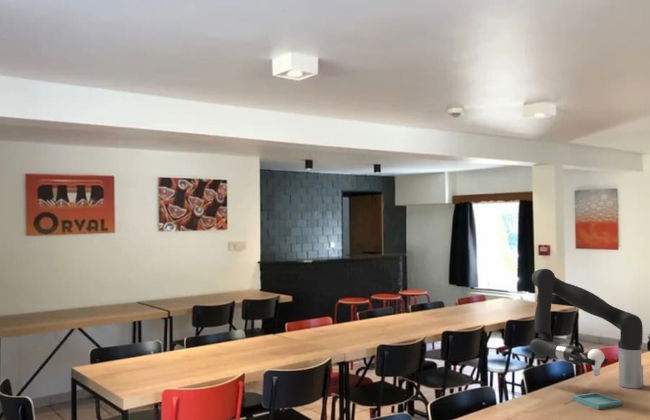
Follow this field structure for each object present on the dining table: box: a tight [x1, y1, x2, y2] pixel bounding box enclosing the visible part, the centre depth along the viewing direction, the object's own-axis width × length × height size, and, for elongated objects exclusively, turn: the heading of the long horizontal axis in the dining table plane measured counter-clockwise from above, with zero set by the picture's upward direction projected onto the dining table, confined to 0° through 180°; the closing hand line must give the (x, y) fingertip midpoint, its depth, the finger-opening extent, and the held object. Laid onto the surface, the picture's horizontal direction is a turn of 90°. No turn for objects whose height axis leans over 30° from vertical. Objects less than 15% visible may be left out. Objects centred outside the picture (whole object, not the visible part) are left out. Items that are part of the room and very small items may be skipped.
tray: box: [572, 392, 623, 410], centre depth 233 cm, size 13×13×2 cm
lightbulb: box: [587, 348, 606, 377], centre depth 233 cm, size 6×6×11 cm
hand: (600, 362), depth 231 cm, fingers closed on lightbulb, 6 cm apart
